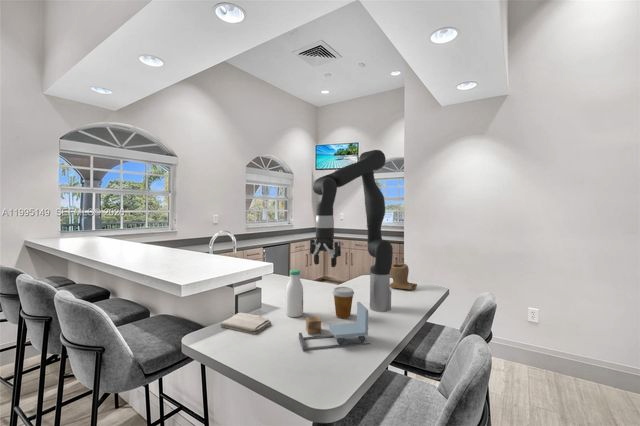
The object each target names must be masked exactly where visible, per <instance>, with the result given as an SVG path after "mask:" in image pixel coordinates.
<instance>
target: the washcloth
mask: <svg viewBox="0 0 640 426" xmlns="http://www.w3.org/2000/svg"><path fill="white" fill-rule="evenodd" d="M271 324H272V321H271V320H270V318H268V317H264V316H261V315H257V314H252V313H244V312H238V313H236V314H234V315H233V316H231V317H229V318H227V319H225V320H224V321H222V322H220V325H219V326H220V327H221V328H224V327H225V329H229V330H230V329H231V330H234V331H239V332H244V333H248V334H252V335H256V334H257V333H260V332H261V331H264V329H266V328H267V327H269V326H270V325H271Z"/></svg>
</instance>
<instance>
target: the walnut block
mask: <svg viewBox="0 0 640 426" xmlns="http://www.w3.org/2000/svg"><path fill="white" fill-rule="evenodd" d="M305 330H306V332H307V335H317V334H319V335H320V334H322V320H321V318H320V317H319V316H318V315H317V316H315V315H314V316H306V317H305Z"/></svg>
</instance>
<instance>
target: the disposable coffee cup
mask: <svg viewBox="0 0 640 426" xmlns="http://www.w3.org/2000/svg"><path fill="white" fill-rule="evenodd" d="M332 293H333V301H334V309H335V317H336V318H338V319H341V320H342V319H344V320H346V319H349V318H351V314H352V306H353V299H354V294H355V292H354V289H353V288H352V287H349V286H347V287H346V286H338V287H337V286H336V287H334V288H333V291H332Z"/></svg>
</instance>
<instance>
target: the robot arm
mask: <svg viewBox="0 0 640 426" xmlns="http://www.w3.org/2000/svg"><path fill="white" fill-rule="evenodd" d="M386 160H387V159H386V155H385V153H384V152H383V151H382V150H380V149H372V150H368V151H363V152H362V153H361V154H360V155H359V160H358V161H357V162H354V163H351V164H349V165H348V164H347V165H346V166H342V167H340V168H339V169H337V170H335V171H334V172H331V173H329V174H325V175H323V176H321V177H319V178H316V179H315V180H314V182H313V184H312V190H313V192H314V193H315V194H316V195H318V196H321V200H319V201H317V202H316V205H315V206H316V207H315V208H316V210H315V213H316V215H315V238H316V239H315V238H314V239H309V240H310V241H309V254H312V255H313V263H314V265H316V266H317V265H319V264H320V255H319V254H320V253H321V252H327V253H328V254H329V255H330V257H331V258H330V265H331V266H330V267H331V268H335V267H336V266H337V258H339V257H341V256H342V250H341V241H340V240H337V241H334V239H335V238H334V237H335V220H334V204H335V200H336V196H337V192H338V188H341V187H344V186H345V185H348V184H349V183H351V182H352V181H354V180H356V179H358V178H360V177H361V179H362V187H363V194H364V195H363V196H364V205H365V214H366V217H365V218H366V226H367V227H366V228H367V252H368V254H369V255H370V256H371V257H372V258H374V259H375V261H374V265H370V268H369V270H370V271H369V273H370V274H369V277H370V282H369V308H370V310H372V311H374V312H380V313H381V312H384V313H385V312H387V311H391V310H392V289H390V288H391V287H390V284H391V271H390V269H391V267H392V265H393V254H394V253H393V251H394V250H393V245H392V244H391V242H390V241H389V240H386V239H383V238H382V229H381V228H382V224H383V221H384V218H385V215H386V204H385V197H384V193H382V191H381V189H380V188H379V186H378V184H377V183H376V180H375V173H374V171H378V170H381V169H382V168H383V167H384V166H385V165H386Z"/></svg>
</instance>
